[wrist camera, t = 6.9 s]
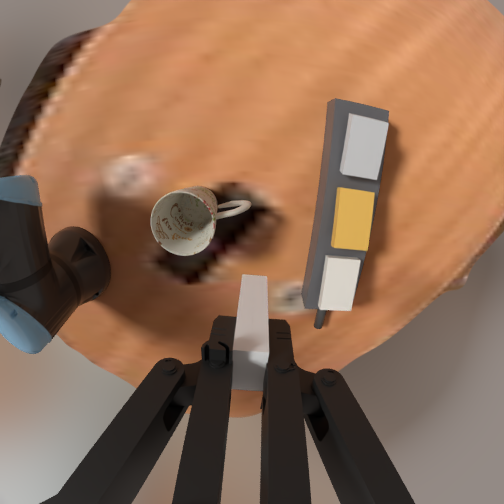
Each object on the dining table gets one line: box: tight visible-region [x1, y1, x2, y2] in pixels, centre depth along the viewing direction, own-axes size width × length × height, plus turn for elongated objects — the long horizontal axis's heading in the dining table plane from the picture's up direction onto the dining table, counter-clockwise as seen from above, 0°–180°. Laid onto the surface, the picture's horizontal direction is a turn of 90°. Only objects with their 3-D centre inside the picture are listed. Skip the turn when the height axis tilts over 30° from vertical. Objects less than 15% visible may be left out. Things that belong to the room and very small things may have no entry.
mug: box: [151, 186, 251, 256], centre depth 37 cm, size 8×13×10 cm, turn 101°
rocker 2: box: [331, 187, 375, 251], centre depth 36 cm, size 5×8×2 cm, turn 176°
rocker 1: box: [340, 113, 389, 180], centre depth 32 cm, size 5×8×2 cm, turn 176°
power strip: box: [301, 98, 389, 329], centre depth 40 cm, size 8×38×5 cm, turn 176°
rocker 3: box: [318, 255, 361, 311], centre depth 40 cm, size 5×8×2 cm, turn 176°
